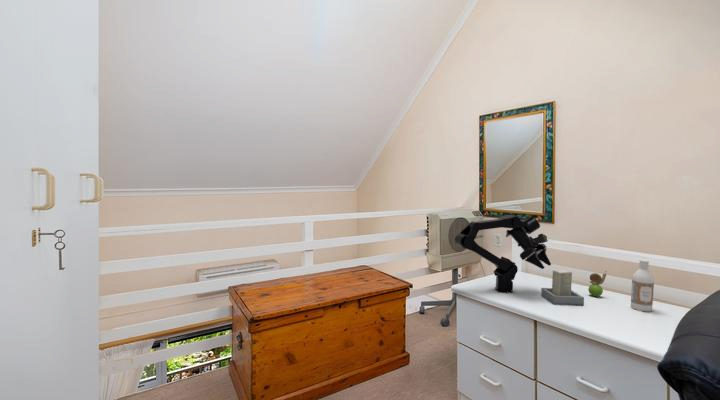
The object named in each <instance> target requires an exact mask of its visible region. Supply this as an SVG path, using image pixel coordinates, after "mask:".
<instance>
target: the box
mask: <svg viewBox="0 0 720 400" xmlns="http://www.w3.org/2000/svg"><path fill="white" fill-rule="evenodd" d="M540 293H541V295H540V296H542V297H543V298H544V299H545V300H547V301H548V302H550V303H551V304H552V305H555V306H578V307H579V306H580V307H581V306H582V307H583V306H585V297H584V296H582V295H580V294H579V293H577V292H575V291H574V290H572V289H571V296H555V295H554V294H552V287H541V292H540Z"/></svg>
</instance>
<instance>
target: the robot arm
mask: <svg viewBox="0 0 720 400" xmlns="http://www.w3.org/2000/svg"><path fill="white" fill-rule="evenodd" d="M518 216H519V215H513V214H507V215H502V216H501V217H499V218H494V219H486V220H477V221H470V222H469V223H468V225H466V227H464V228H463V229H462V230H461V231H460V232H459V233H458V234H456V236H455V237H454V244H455V245H456V246H459V247H461V248H463V249H467V250H468V251H471V252H473V253H475V254H477V255H478V256H479V257H481V258H483V259H484V260H486V261H488V262H489V263H491V264H492V265H494V267H496V268H495V270H493V274H494V276H496V277H495V287H494V289H495V290H496V291H497V293H509V294H510V293H511V294H512V293H514V292H513V289H514V280H515V278H516V275H517V273H518V266H517V264H516V262H514V261H512V260H511V259H509V258H507V257H505V256H501V257H498V256H497V255H495V254H494V253H492V252H490V251H488V250H487V249H485V248H484V247H482V246H480V245H479V244H478V243H477V241H475V239H476V238H477V235H478V233H479V232H480V231H484V230H491V229H492V230H493V229H499V228H501V229H502V228H505V229H507V230H506V234H505V235H506V236H505V237H506V238H508V237H510V236H511V238H513V239H514V241H515V242H516V244H517V247H520V248H521V250H523V251H522V252H521V253H520V254H519V257H520V259H521V260H522V261H524V262H527V263H529V264H531V265H534V266H535V267H538V268H540V269H541V270H544V269H545V266H544V264H546V265H547V266H552V263H551V261H550V259H549V257H548V255H547V253H546V252H547V250H548V249H547V245H546V244H545V243H546V242H548V241H549V240H548V236H547V235H546V234H544V233H540V234H538V235H537V237H533V236H529V235H531V234H532V233H534V232H536V231H537V230H538V229H540V228H541V224H540V222H538V220H537V219H535V218H534V216H532V215H530V216H528V217H527V218H525V219H524V220H521V218H520V217H518ZM542 262H543V263H544V264H543V263H542Z"/></svg>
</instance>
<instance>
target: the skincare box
mask: <svg viewBox="0 0 720 400" xmlns="http://www.w3.org/2000/svg"><path fill="white" fill-rule="evenodd" d="M572 278H573V272H572V271H570V270H567V269H553V270H552V281H551V283H552V284H551V288H552V294H554V295H555V296H571V290H572V282H573V281H572V280H573V279H572Z"/></svg>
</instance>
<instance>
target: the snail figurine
mask: <svg viewBox="0 0 720 400" xmlns="http://www.w3.org/2000/svg"><path fill="white" fill-rule="evenodd" d="M604 272H605V273H602V275H600V274H599V273H596V272H594V273H591V274H590V275H589V281H588V282H589V283H590V284H591V285H589V286H588V289H587V291H588V293H589V294H590V295H591V296H593V297H600V296H602V295H603V293H604V290H603V287H602V286H601V285H602V284H604V282H605V280H606V277H607V271H606V270H605V271H604Z"/></svg>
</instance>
